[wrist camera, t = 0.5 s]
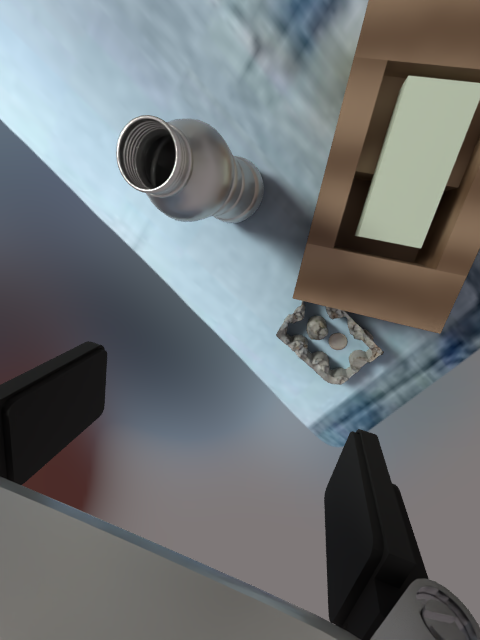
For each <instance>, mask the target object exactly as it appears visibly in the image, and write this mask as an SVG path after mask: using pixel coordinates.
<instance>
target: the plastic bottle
mask: <svg viewBox="0 0 480 640" xmlns="http://www.w3.org/2000/svg"><path fill="white" fill-rule="evenodd" d="M116 154H117V163H118V167H119V169H120V172H121V174H122V176H123V177H124V179H125V180H126V181H127V182H128V184H129V185H131V186H132V187H133V188H135V189H136V190H139V191H141V192H145V193H146V194H147V196H148V197H149V199H150V200H151V202H152V203H153V204H154V205H155V206H156V207H157V208H158V209H159V210H160V211H161V212H163V213H164V214H165V215H167V216H168V217H170V218H172V219H175V220H178V221H183V222H192V221H198V220H202V219H205V218H208V217H210V216H214V217H215V218H217V219H219V220H221V221H223V222H227V223H238V222H241V221H244V220H246V219H247V218H249V217H250V216H251V215H253V214H254V212H255V211H256V210H257V209H258V207H259V206H260V204H261V201H262V198H263V191H264V187H263V180H262V177H261V174H260V172H259V170H258V168H257V167H256V166H255V165H254V164H253V163H252V162H250V161H249V160H247V159H244V158H242V157H237V156H233V155H232V153H231V151H230V149H229V147H228V145H227V143H226V142H225V140H224V139H223V138H222V136H221V135H220V134H219V133H218V132H217V131H216V130H215V129H214V128H213V127H211V126H210V125H209V124H207V123H205V122H202V121H200V120H195V119H176V120H173V121H170V122H165V121H164V120H162V119H160V118H158V117H155V116H150V115H144V116H139V117H137V118H134V119H133V120H131V121H130V122H129V123H128V124H127V125H126V126H125V127H124V129H123V130H122V132H121V134H120V137H119V139H118V143H117V152H116Z"/></svg>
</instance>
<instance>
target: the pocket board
mask: <svg viewBox="0 0 480 640" xmlns="http://www.w3.org/2000/svg"><path fill="white" fill-rule="evenodd" d="M408 76H417V77H427V78H436V79H446V80H455V81H465V82H474V83H480V0H369V1H368V5H367V9H366V13H365V17H364V21H363V25H362V29H361V33H360V37H359V41H358V44H357V48H356V52H355V56H354V60H353V64H352V68H351V72H350V76H349V80H348V83H347V87H346V91H345V95H344V99H343V103H342V107H341V111H340V115H339V119H338V123H337V126H336V130H335V134H334V138H333V142H332V146H331V150H330V154H329V158H328V162H327V166H326V169H325V173H324V177H323V181H322V185H321V189H320V193H319V197H318V201H317V205H316V208H315V212H314V216H313V220H312V224H311V228H310V232H309V236H308V240H307V244H306V248H305V251H304V255H303V259H302V263H301V267H300V271H299V275H298V279H297V283H296V287H295V291H294V294H293V299H298V300H302V301H306V302H310V303H314V304H318V305H323V306H327V307H331V308H335V309H339V310H343V311H348V312H352V313H356V314H360V315H364V316H368V317H373V318H377V319H381V320H385V321H389V322H394V323H398V324H402V325H406V326H410V327H414V328H419V329H423V330H427V331H431V332H435V333H439V334H440V333H441V331H442V329H443V327H444V325H445V322H446V320H447V318H448V316H449V314H450V312H451V309H452V307H453V305H454V303H455V301H456V299H457V296H458V294H459V292H460V290H461V288H462V286H463V283H464V281H465V279H466V277H467V275H468V273H469V270H470V268H471V266H472V264H473V262H474V260H475V257H476V255H477V253H478V251H479V249H480V100H479V103H478V105H477V108H476V110H475V113H474V115H473V118H472V120H471V123H470V125H469V128H468V131H467V133H466V136H465V138H464V141H463V143H462V146H461V148H460V151H459V153H458V156H457V159H456V161H455V164H454V166H453V169H452V171H451V174H450V176H449V179H448V182H447V184H446V187H445V189H444V192H443V194H442V197H441V199H440V202H439V204H438V207H437V210H436V212H435V215H434V217H433V220H432V222H431V225H430V227H429V230H428V233H427V235H426V238H425V240H424V243H423V245H422V248H416V247H411V246H405V245H400V244H395V243H390V242H385V241H380V240H375V239H370V238H365V237H360V236H355V233H356V230H357V226H358V223H359V220H360V217H361V213H362V210H363V207H364V204H365V200H366V197H367V194H368V191H369V187H370V184H371V181H372V178H373V175H374V171H375V168H376V165H377V162H378V158H379V155H380V152H381V149H382V145H383V142H384V139H385V136H386V133H387V129H388V126H389V123H390V120H391V116H392V113H393V110H394V107H395V103H396V100H397V97H398V94H399V90H400V88H401V87H402V85H403V83H404V82H405V80H406V79H407V77H408Z"/></svg>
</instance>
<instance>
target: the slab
mask: <svg viewBox="0 0 480 640" xmlns="http://www.w3.org/2000/svg"><path fill="white" fill-rule="evenodd" d="M479 100H480V83H474V82H465V81H455V80H446V79H436V78H427V77H417V76H408V77H407V79H406V80H405V82H404V83H403V85H402V87H401V88H400V90H399V94H398V97H397V100H396V103H395V107H394V110H393V113H392V116H391V120H390V123H389V126H388V129H387V133H386V136H385V139H384V142H383V145H382V149H381V152H380V155H379V158H378V162H377V165H376V168H375V171H374V175H373V178H372V181H371V184H370V187H369V191H368V194H367V197H366V200H365V204H364V207H363V210H362V213H361V217H360V220H359V223H358V226H357V230H356V233H355V236H360V237H365V238H370V239H375V240H380V241H385V242H390V243H395V244H400V245H405V246H411V247H416V248H422V245H423V243H424V240H425V238H426V235H427V233H428V230H429V227H430V225H431V222H432V220H433V217H434V215H435V212H436V210H437V207H438V204H439V202H440V199H441V197H442V194H443V192H444V189H445V187H446V184H447V182H448V179H449V176H450V174H451V171H452V169H453V166H454V164H455V161H456V159H457V156H458V153H459V151H460V148H461V146H462V143H463V141H464V138H465V136H466V133H467V131H468V128H469V125H470V123H471V120H472V118H473V115H474V113H475V110H476V108H477V105H478V103H479Z"/></svg>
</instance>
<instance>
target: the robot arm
mask: <svg viewBox="0 0 480 640" xmlns="http://www.w3.org/2000/svg"><path fill="white" fill-rule="evenodd" d="M106 366H107V352H106V351H105V350H104V347H103V346H102V345H99V344H96V343H93V342H85V343H83V344H81V345H79V346H77V347H75V348H73V349H71V350H69V351H67V352H65V353H63V354H61V355H59V356H57V357H56V358H53V359H51V360H49V361H47V362H45V363H43V364H41V365H39V366H37V367H35V368H33V369H31V370H29V371H27V372H25V373H23V374H21V375H19V376H17V377H15V378H13V379H11V380H9V381H7V382H5V383H3V384H1V385H0V640H480V627H479V625H478V623H477V622H476V620H475V619H474V617H473V616H472V614H471V613H470V611H469V610H468V609H467V608H466V606H465V605H464V604H463V603H462V602H461V601H460V600H459V599H458V598H457V597H456V596H455V595H454V594H453V593H452V592H450V591H449V590H448V589H447V588H445V587H444V586H442V585H440V584H438V583H437V582H435V581H432V580H429V579H428V576H427V573H426V570H425V567H424V564H423V561H422V557H421V555H420V552H419V548H418V545H417V542H416V539H415V536H414V533H413V530H412V527H411V524H410V521H409V518H408V515H407V512H406V509H405V505H404V502H403V499H402V496H401V493H400V491H399V488H398V487H397V486H396V485H394V484H392V482H391V480H390V476H389V473H388V470H387V466H386V463H385V459H384V456H383V453H382V450H381V447H380V443H379V440H378V437H377V435H375V434H372V433H369V432H366V431H363V430H360V429H358V430H357V431H356V433H355V432H351V433H350V434H349V436H348V439H347V441H346V443H345V446H344V448H343V451H342V453H341V455H340V457H339V460H338V462H337V464H336V467H335V469H334V471H333V474H332V476H331V478H330V481H329V483H328V485H327V488H326V491H325V497H324V499H325V500H324V503H325V529H326V554H327V555H326V557H327V582H328V609H329V619H330V622H329V621H327V620H325V619H323V618H321V617H319V616H317V615H315V614H313V613H311V612H309V611H307V610H304V609H302V608H300V607H298V606H296V605H294V604H291V603H289V602H287V601H285V600H283V599H280V598H278V597H276V596H274V595H272V594H270V593H267V592H265V591H263V590H261V589H259V588H257V587H255V586H252V585H250V584H248V583H245V582H243V581H241V580H239V579H236V578H234V577H232V576H229V575H227V574H225V573H223V572H220V571H218V570H216V569H214V568H211V567H209V566H207V565H204V564H202V563H200V562H198V561H195V560H193V559H191V558H189V557H186V556H184V555H182V554H179V553H177V552H175V551H173V550H170V549H168V548H166V547H163V546H161V545H159V544H157V543H154V542H152V541H150V540H147V539H145V538H142V537H140V536H138V535H136V534H133V533H131V532H129V531H127V530H124V529H122V528H119V527H117V526H115V525H112V524H110V523H108V522H105V521H103V520H101V519H99V518H96V517H94V516H92V515H89V514H87V513H84V512H82V511H80V510H78V509H75V508H73V507H71V506H68V505H66V504H64V503H61V502H59V501H57V500H54V499H52V498H49V497H47V496H45V495H42V494H40V493H38V492H35V491H33V490H31V489H28V488H26V487H24V486H21V485H22V484H23V483H25V482H26V481H27V480H28V479H29V478H30V477H32V475H34V474H35V473H36V472H37V471H38V470H40V469H41V468H42V467H43V466H44V465H45V464H46V463H48V462H49V461H50V460H51V459H52V458H53V457H54V456H55V455H56V454H58V453H59V452H60V451H61V450H62V449H63V448H65V447H66V446H67V445H68V444H69V443H70V442H71V441H72V440H73V439H75V438H76V437H77V436H78V435H79V434H80V433H81V432H83V431H84V430H85V429H86V428H87V427H88V426H89V425H91V424H92V423H93V422H94V421H95V420H96V419H97V418H99V417H100V415H101V414H102V412H103V410H104V403H105V385H106ZM332 623H333V624H332ZM334 624H335V625H334Z"/></svg>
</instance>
